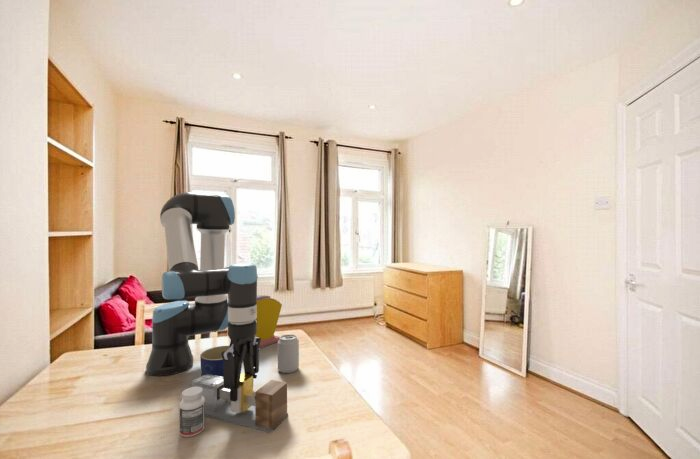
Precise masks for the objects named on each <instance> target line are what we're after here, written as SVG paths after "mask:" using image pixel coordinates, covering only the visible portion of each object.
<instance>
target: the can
mask: <svg viewBox="0 0 700 459" xmlns="http://www.w3.org/2000/svg"><path fill="white" fill-rule="evenodd" d="M279 337H280V340H279V341H278V342H277V370H278V371H279V372H280V373H282V374H292V373H294V372H296V371H297V370H298V369H299V366H300V362H299V361H300V359H299V358H300V357H299V356H300V354H299V352H300V341H299V339H298V336H297V335H296V334H291V333H290V334H283V335H281V336H279Z"/></svg>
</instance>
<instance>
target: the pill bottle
mask: <svg viewBox="0 0 700 459" xmlns="http://www.w3.org/2000/svg"><path fill="white" fill-rule="evenodd" d="M202 394H203V389H202V388H201V387H192V386H190V387H188V388H185V389H183V391H182V392H181V399H182V400H181V402H180V403H179V434H180V436H182V437H185V438H191V437H194V436H197V435H199V434H200V433H202V432H203V431H204V429H205V427H206V416H205V398H204V397H203V396H202Z"/></svg>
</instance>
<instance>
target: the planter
mask: <svg viewBox="0 0 700 459" xmlns="http://www.w3.org/2000/svg"><path fill="white" fill-rule="evenodd" d="M228 349H229V345H219V346H214V347H211V348H207V349H205V350H204V351H203V352H201V353H200V357H199V359H200V377H201V376H203V375H205V374H211V375H217V376H222V377H224V375H223V358H222V355H221V353H222V352H223V351H227V350H228Z"/></svg>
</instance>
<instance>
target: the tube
mask: <svg viewBox="0 0 700 459" xmlns="http://www.w3.org/2000/svg"><path fill="white" fill-rule="evenodd" d="M239 387H241V412H245V411H246V410H247V409H248V408H249V407H251V406H255V396H256V391H254V378H253V376H252V375H247V374H245V373H241V376H240V383H239ZM217 398H220V399H225V400H229V401H231V400H230V389H226V388H224V385H222V386H220V387H218V388H217Z"/></svg>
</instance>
